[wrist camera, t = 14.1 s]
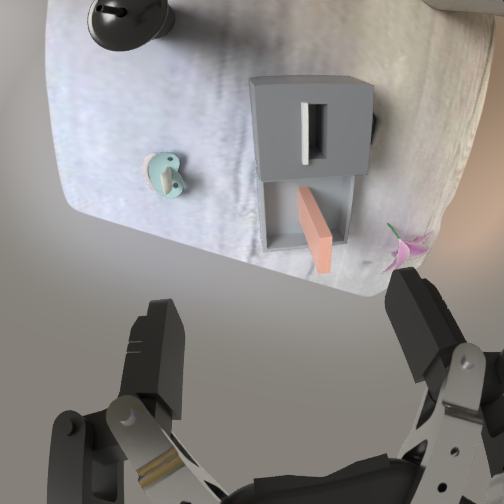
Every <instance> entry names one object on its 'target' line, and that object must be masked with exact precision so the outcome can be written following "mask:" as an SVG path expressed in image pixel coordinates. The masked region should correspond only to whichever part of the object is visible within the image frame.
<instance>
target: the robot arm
mask: <svg viewBox="0 0 504 504" xmlns="http://www.w3.org/2000/svg"><path fill="white" fill-rule="evenodd" d="M423 1H424V2H425V3H426V4H428V5H429V6H431V7H433V8H435V9H438V10H450V11H463V12H474V13H483V14H491V15H498V16H504V0H423ZM385 309H386V312H387V315H388V317H389V319H390V321H391V324H392V326H393V328H394V331H395V333H396V335H397V338H398V340H399V343H400V345H401V347H402V350H403V352H404V355H405V357H406V360H407V362H408V365H409V368H410V370H411V373H412V375H413V378H414V381H415V383H419V382H421V381H426V384H427V387H426V389H425V392H424V395H423V398H422V401H421V404H420V407H419V410H418V413H417V416H416V419H415V422H414V425H413V427H412V430H411V432H410V434H409V436H408V437H407V438H406V440H405V442H404V443H403V445H402V447H401V449H400V451H399V454H398V456H397V458H388V456H387V453H386V454H382V455H379V456H376V457H372V458H368V459H365V460H361V461H357V462H355V463H353V464H351V465H349V466H347V467H345V468H343V469H341V470H339V471H337V472H334V473H332V474H330V475H328V476H325V477H307V476H294V475H284V476H275V477H267V478H255V479H254V483H252V484H248V485H246V486H244V487H242V488H240V489H238V490H237V491H235V492H233V493H232V494H231V495H228V494H227V493H226V491H225V490H224V489H223V488H222V487H221V486H220V485H219V484H218V483H217V482H216V481H215V480H214V479H213V478H212V477H211V476H210V475H209V474H208V473H207V472H206V471H205V470H204V469H203V468H202V467H201V466H200V465H199V464H198V463H197V462H196V460H195V459H194V458H193V457H192V456H191V454H190V453H189V452H188V451H187V449H186V448H185V447H184V446H183V445H182V443H181V442H180V441H179V440H178V438H177V437H176V436H175V435H174V433H173V432H172V431H171V430H172V420H181V410H182V409H181V408H182V384H183V364H184V349H185V332H184V327H183V324H182V321H181V319H180V317H179V314H178V312H177V310H176V307H175V305H174V302H173V301H172V299H162V300H152V301H150V303H149V307H148V312H147V316H139V317H138V318H137V320H136V322H135V323H134V325H133V326H132V328H131V332H130V337H129V344H128V347H127V354H126V358H125V363H124V369H123V375H122V381H121V387H120V392H119V395H118V397H117V398H116V399H115V400H113V401H112V402H111V404H110V405H109V406H108V408H107V409H105V410H103V411H99V412H96V413H92V414H88V415H85V416H81V415H80V414H79V413H77V412H75V411H72V410H69V411H64V412H62V413H61V414H60V415H58V417H57V418H56V419H55V421H54V424H53V429H52V437H51V446H50V456H49V468H48V485H47V504H124V466H123V465H124V461H125V460H129V461H130V462H131V464H132V465H133V467H134V469H135V470H136V472H137V473H138V476H139V479H138V482H139V484H140V486H141V488H142V489H143V491H144V493H145V494H146V495H147V497H148V498H149V499H150V501H151V502H152V503H153V504H476V503H474V502H472V501H471V500H469V499H467V498H466V497H464V496H463V495H462V494H463V491H464V489H465V486H466V483H467V480H468V477H469V474H470V471H471V468H472V464H473V461H474V458H475V454H476V451H477V447H478V443H479V440H480V435H482V439H483V443H484V446H485V451H486V455H487V459H488V463H489V468H490V473H491V478H492V479H491V481H490V483H489V486H488V487H487V488H486V489H485V492H484V495H485V497H486V498H487V503H486V504H504V395H503V394H504V349H503V351H502V352H482V350H481V349H480V348H479V347H478V346H476V345H474V344H472V343H467V341H466V340H465V338H464V336H463V334H462V332H461V331H460V329H459V327H458V325H457V323H456V321H455V319H454V318H453V316H452V314H451V312H450V310H449V309H447V305H446V304H445V302H444V300H442V297H441V295H440V293H439V291H438V290H437V288H436V287H435V286H434V285H433V284H432V283H430V282H429V281H428V280H427V279H426V278H425V279H421V277H420V276H419V274H418V272H417V271H416V269H415V268H414V267H407V268H401V269H395V270H394V271H393V272H392V275H391V279H390V282H389V286H388V289H387V293H386V296H385Z"/></svg>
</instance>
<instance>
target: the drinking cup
mask: <svg viewBox="0 0 504 504" xmlns="http://www.w3.org/2000/svg"><path fill="white" fill-rule="evenodd" d="M174 22H175V16H174V13H173V11H172V10H171V8H170V6H169V5H168V0H94V1H93V3H92V5H91V7H90V10H89V13H88V29H89V32H90V35H91V37H92V38H93V40H94V41H95V42H96V43H97V44H98V45H100V46H101V47H103V48H105V49H107V50H111V51H129V50H133V49H136V48H139V47H141V46H143V45H145V44H146V43H148V42H149V41H150V40H153V39H155V38H158V37H161V36H163V35H165V34H167V33H168V32H169V31H170V30H171V29H172V27H173V25H174Z"/></svg>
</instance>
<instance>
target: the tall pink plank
mask: <svg viewBox="0 0 504 504" xmlns="http://www.w3.org/2000/svg"><path fill="white" fill-rule="evenodd" d="M298 204H299V221H300V224H301V226H302V229H303V232H304V235H305V237H306V240H307V243H308V246H309V248H310V251H311V254H312V257H313V260H314V263H315V266H316V268H317V271H318V274H323V273H330V267H331V253H332V234H331V232H330V230H329V228H328V226H327V224H326V222H325V220H324V217H323V215H322V213H321V211H320V209H319V207H318V205H317V203H316V201H315V199H314V197H313V195H312V193H311V191H310V189H309V187H308V186H306V187H298Z"/></svg>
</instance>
